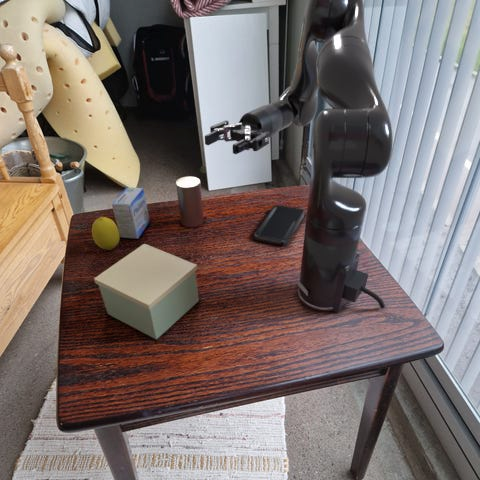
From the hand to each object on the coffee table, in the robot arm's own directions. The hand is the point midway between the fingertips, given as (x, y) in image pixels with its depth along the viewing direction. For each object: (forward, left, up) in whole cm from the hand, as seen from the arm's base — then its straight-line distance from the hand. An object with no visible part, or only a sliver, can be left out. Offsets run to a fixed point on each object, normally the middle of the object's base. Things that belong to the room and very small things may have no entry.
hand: (219, 145), depth 97 cm
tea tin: (+1, +11, -14) cm, 18 cm away
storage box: (-12, +39, -14) cm, 44 cm away
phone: (-18, +2, -14) cm, 23 cm away
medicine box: (+10, +21, -15) cm, 28 cm away
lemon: (+9, +30, -15) cm, 35 cm away
